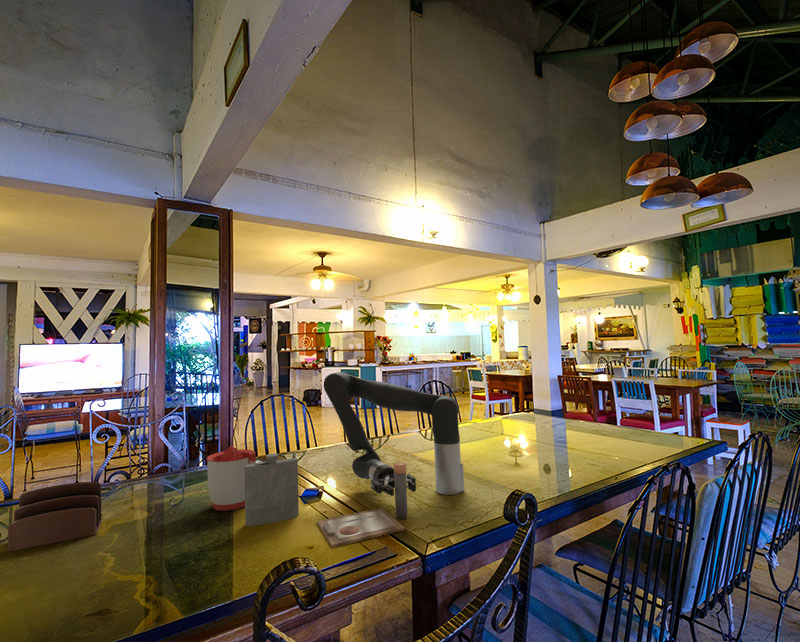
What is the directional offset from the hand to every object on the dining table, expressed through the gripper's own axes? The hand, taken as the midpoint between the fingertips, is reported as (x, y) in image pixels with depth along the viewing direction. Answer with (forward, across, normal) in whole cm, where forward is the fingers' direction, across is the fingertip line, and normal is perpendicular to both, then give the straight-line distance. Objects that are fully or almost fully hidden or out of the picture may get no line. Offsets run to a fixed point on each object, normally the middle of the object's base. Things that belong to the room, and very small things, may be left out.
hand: (403, 490), depth 125 cm
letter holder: (-40, -94, +9) cm, 102 cm away
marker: (-2, 0, +9) cm, 9 cm away
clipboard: (-2, -14, +9) cm, 16 cm away
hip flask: (-20, -36, +9) cm, 42 cm away
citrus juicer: (-40, -46, +9) cm, 61 cm away
